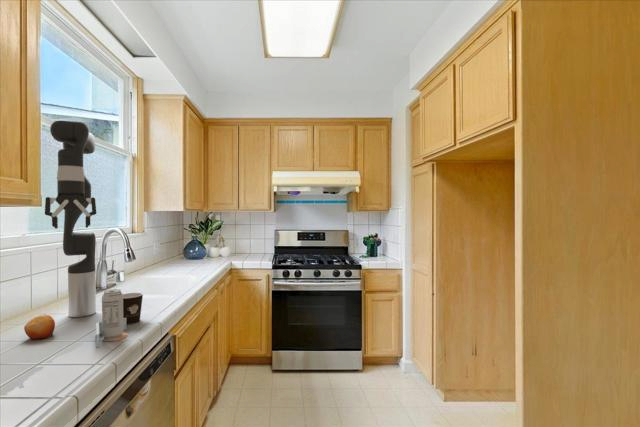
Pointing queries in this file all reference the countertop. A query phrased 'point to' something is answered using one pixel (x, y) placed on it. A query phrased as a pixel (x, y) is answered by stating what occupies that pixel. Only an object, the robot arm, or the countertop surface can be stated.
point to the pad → (117, 338)
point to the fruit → (40, 327)
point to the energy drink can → (112, 314)
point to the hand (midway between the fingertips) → (71, 227)
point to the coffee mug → (132, 307)
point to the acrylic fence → (99, 330)
